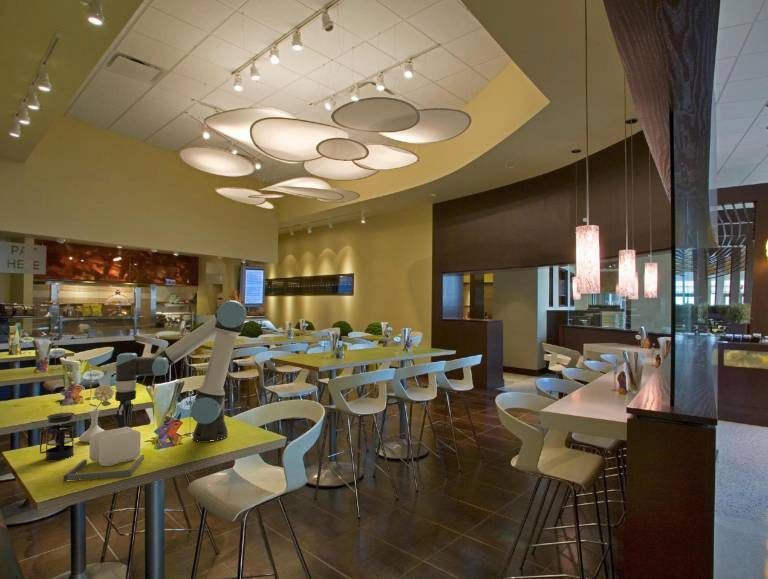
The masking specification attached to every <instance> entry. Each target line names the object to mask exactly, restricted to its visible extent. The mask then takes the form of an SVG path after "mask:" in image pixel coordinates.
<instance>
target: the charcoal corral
mask: <svg viewBox="0 0 768 579" xmlns="http://www.w3.org/2000/svg"><path fill="white" fill-rule="evenodd" d="M143 460H144V461H145V455H144V454H140V455H139V456H138V457H137V458H136V459H135V461H134V463H132V465H131V466H130V467H129V469H121V470H107V471H96V472H82V473H81V472H80V471H79V470H80V469H81V468H82V469H83V468H84V467H86V466H87V465H86V464H88V462H87V461H88V459H86V458H84V459H83V460H81V461H80V462H79V463H78V464H76V465H75V466H74V467H72V468H71V469H70V470H69V471H68V472H66V473H65V474H64V475H63V478H62V482H63V481H66V482H68V481H67V480H77V481H80V480H79V479H89V480H95V479H94V478H101V479H110V478H111V477H113V478H123V477H122V476H124V477H132V475H133V473H135V471H137V469H138V468H139V466H140V465H141V464H142V463H143V462H144V461H143ZM142 461H143V462H142ZM141 462H142V463H141ZM82 469H81V470H82ZM76 472H77V473H76ZM79 472H80V473H79ZM75 473H76V474H75Z"/></svg>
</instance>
